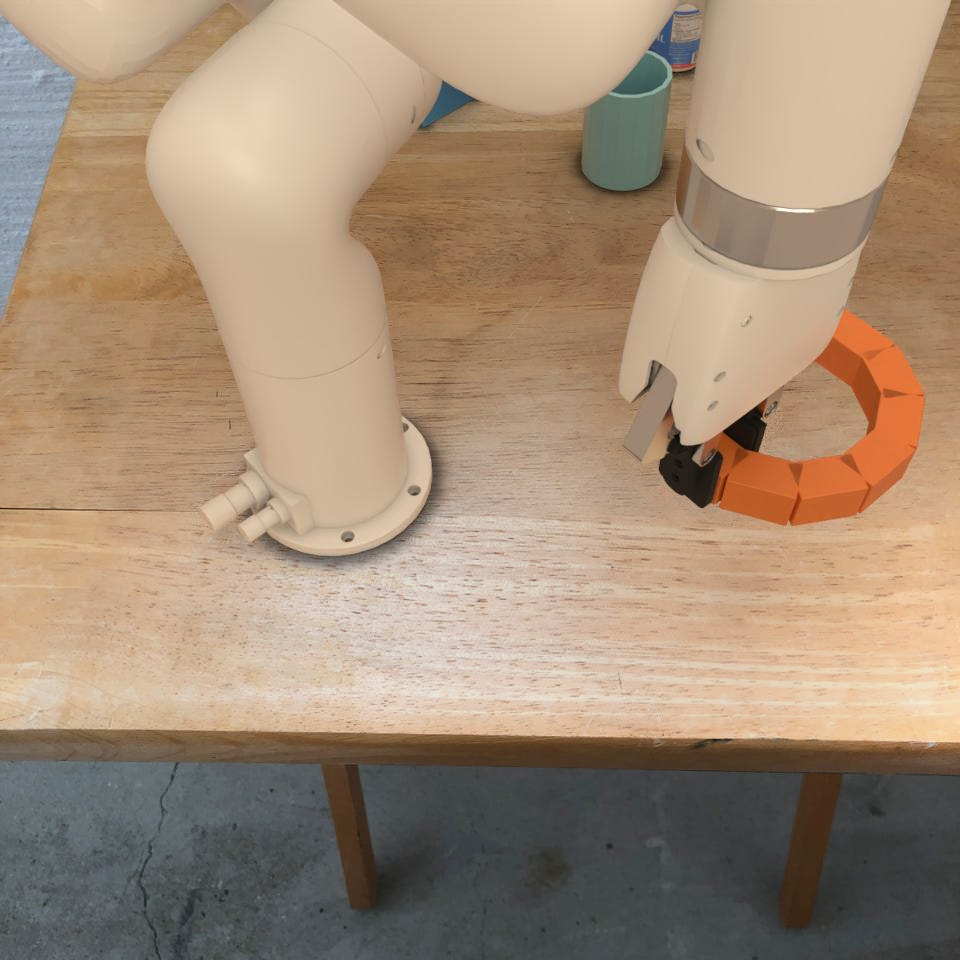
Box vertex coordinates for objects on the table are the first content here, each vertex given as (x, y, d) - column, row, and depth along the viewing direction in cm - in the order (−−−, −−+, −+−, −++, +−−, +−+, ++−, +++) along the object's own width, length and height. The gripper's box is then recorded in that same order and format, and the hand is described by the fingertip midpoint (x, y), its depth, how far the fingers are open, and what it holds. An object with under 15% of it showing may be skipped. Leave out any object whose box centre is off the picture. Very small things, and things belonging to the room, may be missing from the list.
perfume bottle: (380, 98, 101) (364, -28, 92) (430, 70, 104) (421, -55, 94) (423, 127, 98) (412, 0, 89) (474, 98, 101) (469, -29, 91)
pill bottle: (638, 45, 105) (647, -56, 97) (692, 37, 105) (706, -64, 98) (653, 77, 102) (664, -24, 94) (710, 69, 102) (725, -32, 94)
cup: (621, 202, 91) (629, 108, 84) (564, 164, 95) (568, 70, 87) (677, 166, 94) (690, 72, 87) (620, 131, 97) (628, 37, 90)
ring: (793, 571, 53) (804, 545, 51) (596, 408, 59) (599, 378, 57) (961, 426, 58) (977, 397, 56) (764, 290, 64) (772, 259, 62)
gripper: (834, 58, 46) (753, 355, 61) (554, 228, 40) (539, 512, 55) (987, 142, 43) (862, 435, 58) (706, 341, 37) (647, 611, 52)
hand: (705, 470), depth 56 cm, fingers closed on ring, 2 cm apart
